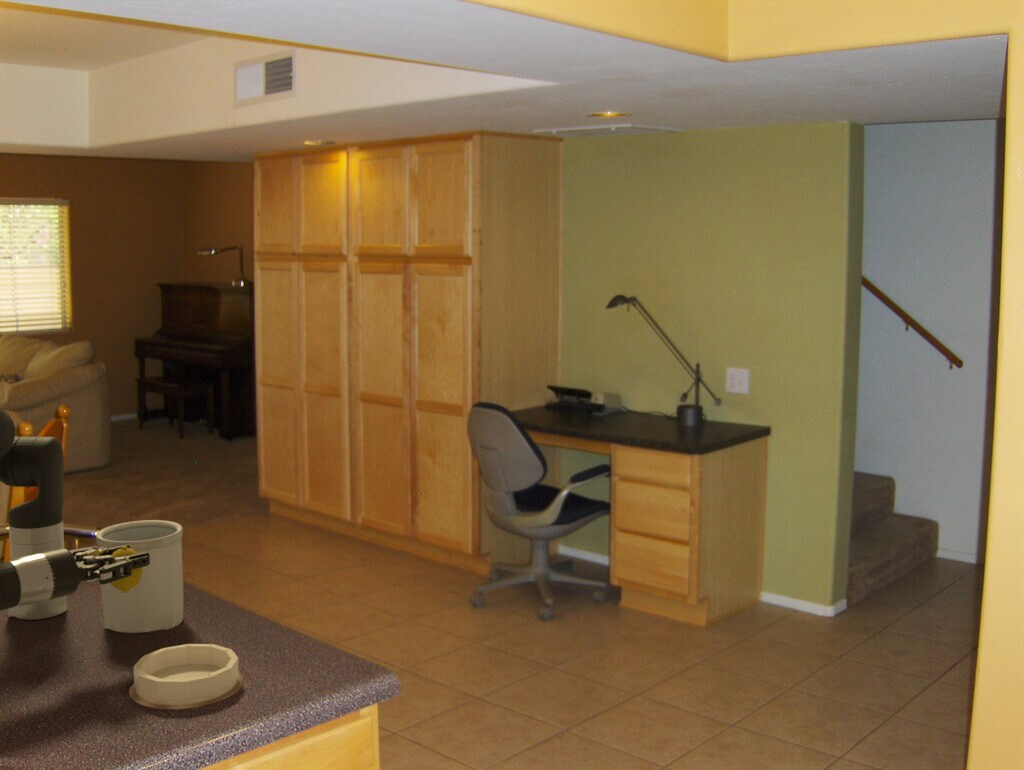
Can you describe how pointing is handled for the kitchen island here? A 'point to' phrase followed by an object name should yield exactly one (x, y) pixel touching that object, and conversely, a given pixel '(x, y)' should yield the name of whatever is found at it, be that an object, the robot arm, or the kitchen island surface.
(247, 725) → the kitchen island surface
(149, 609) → the utensil holder
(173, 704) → the bowl
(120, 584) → the lemon
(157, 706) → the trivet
